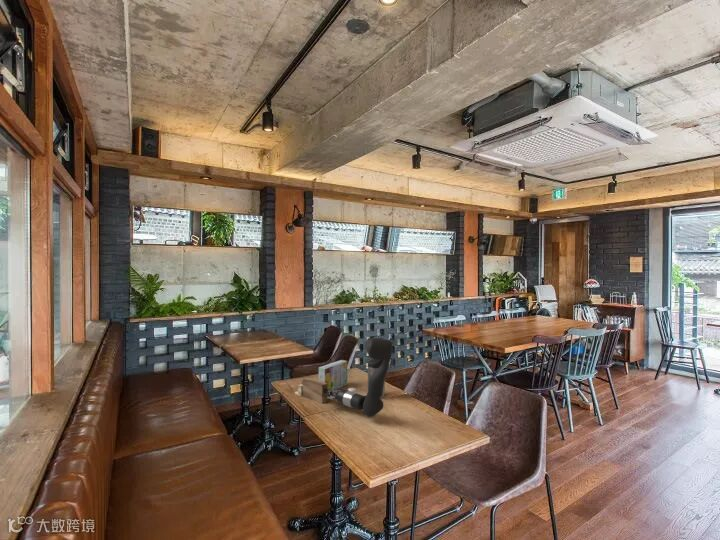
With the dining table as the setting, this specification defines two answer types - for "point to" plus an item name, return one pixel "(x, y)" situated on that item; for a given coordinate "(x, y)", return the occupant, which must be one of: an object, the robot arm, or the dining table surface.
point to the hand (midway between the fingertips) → (324, 390)
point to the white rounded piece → (352, 389)
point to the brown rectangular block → (314, 390)
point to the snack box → (334, 374)
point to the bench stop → (300, 390)
